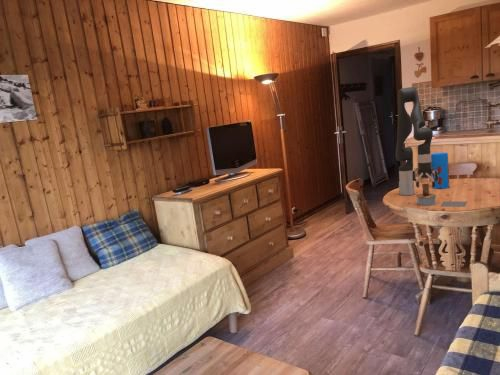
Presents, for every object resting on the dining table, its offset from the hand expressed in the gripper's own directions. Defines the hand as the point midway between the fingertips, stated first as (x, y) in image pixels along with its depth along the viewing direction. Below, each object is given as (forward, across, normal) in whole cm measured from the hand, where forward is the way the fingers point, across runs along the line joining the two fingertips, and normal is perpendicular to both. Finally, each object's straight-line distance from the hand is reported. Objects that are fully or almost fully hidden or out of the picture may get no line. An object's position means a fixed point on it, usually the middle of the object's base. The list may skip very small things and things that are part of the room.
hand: (425, 187), depth 236 cm
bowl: (+11, 0, 0) cm, 11 cm away
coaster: (+11, +15, 0) cm, 18 cm away
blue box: (+11, 0, +51) cm, 52 cm away
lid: (+6, 0, 0) cm, 6 cm away
